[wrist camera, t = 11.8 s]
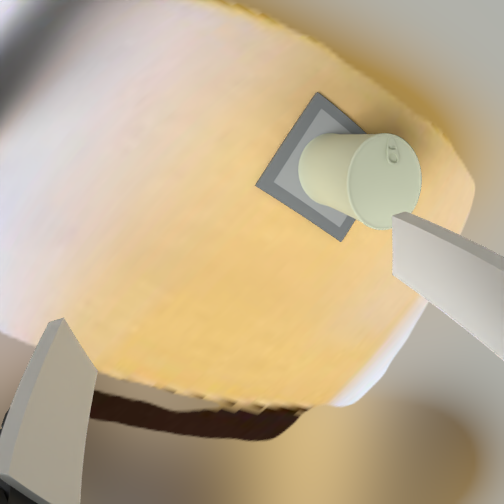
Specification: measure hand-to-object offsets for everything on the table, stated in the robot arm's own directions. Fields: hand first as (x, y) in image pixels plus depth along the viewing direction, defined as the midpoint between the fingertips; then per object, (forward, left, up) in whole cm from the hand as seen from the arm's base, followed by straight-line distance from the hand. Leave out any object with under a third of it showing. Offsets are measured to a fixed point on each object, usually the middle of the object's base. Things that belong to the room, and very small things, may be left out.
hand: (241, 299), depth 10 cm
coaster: (+12, +11, -25) cm, 30 cm away
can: (+12, +11, -25) cm, 29 cm away
